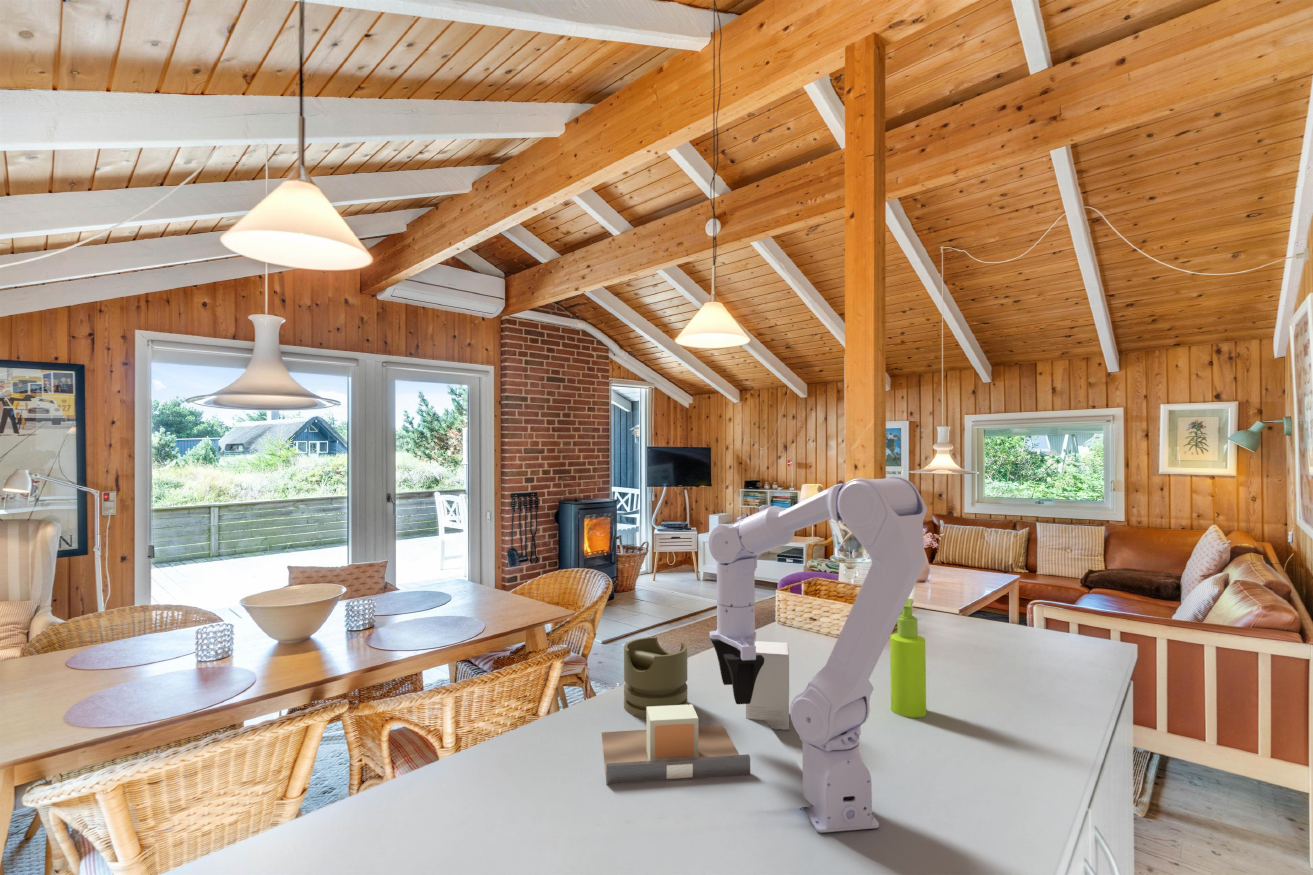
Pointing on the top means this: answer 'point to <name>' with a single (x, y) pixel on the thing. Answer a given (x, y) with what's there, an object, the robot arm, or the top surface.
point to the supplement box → (771, 686)
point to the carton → (671, 732)
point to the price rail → (677, 769)
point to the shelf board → (634, 749)
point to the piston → (653, 676)
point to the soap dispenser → (908, 667)
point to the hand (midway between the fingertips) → (736, 693)
